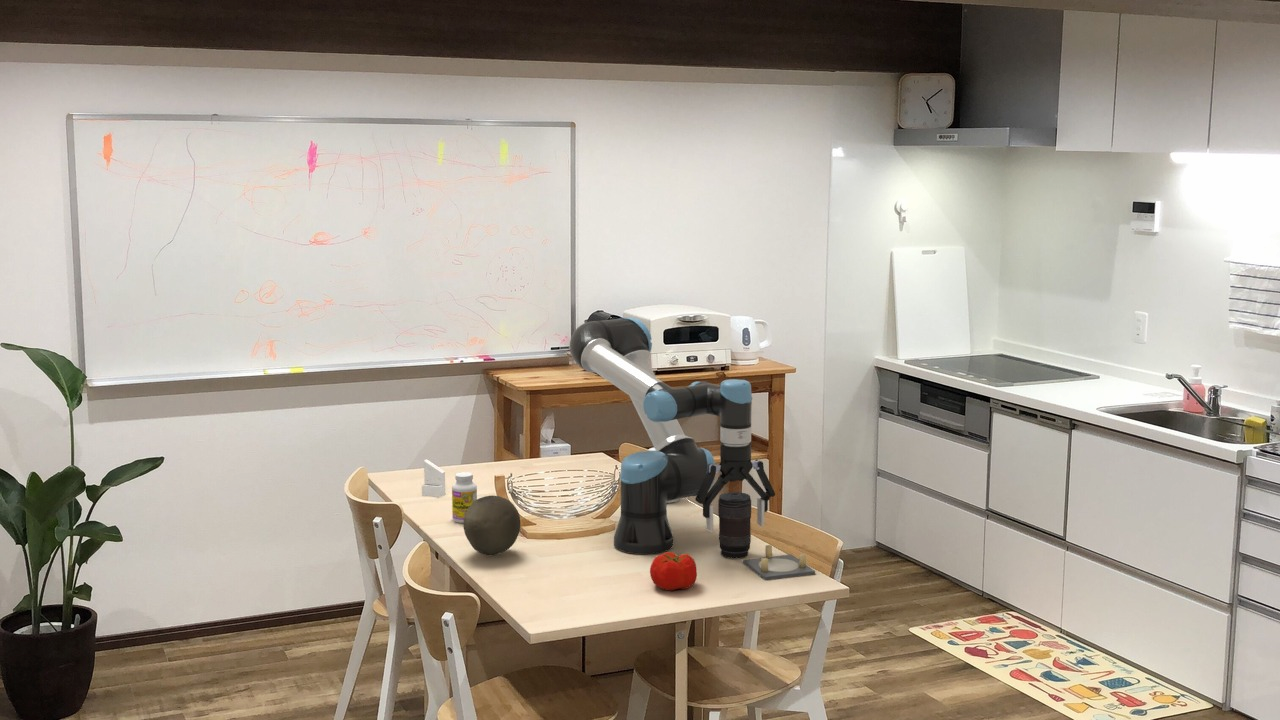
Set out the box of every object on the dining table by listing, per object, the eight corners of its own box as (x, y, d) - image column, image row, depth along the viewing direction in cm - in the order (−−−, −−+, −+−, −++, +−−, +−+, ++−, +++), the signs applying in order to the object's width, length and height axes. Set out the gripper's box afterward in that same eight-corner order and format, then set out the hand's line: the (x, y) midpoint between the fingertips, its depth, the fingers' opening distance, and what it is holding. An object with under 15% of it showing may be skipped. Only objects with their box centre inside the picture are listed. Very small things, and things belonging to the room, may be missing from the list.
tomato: (641, 588, 281) (641, 557, 280) (669, 575, 290) (669, 545, 289) (678, 598, 275) (679, 566, 274) (706, 585, 283) (707, 554, 282)
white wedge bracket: (414, 483, 362) (426, 459, 360) (441, 501, 360) (454, 478, 358) (408, 486, 359) (420, 462, 356) (435, 505, 357) (448, 481, 355)
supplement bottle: (448, 522, 331) (447, 476, 329) (458, 515, 338) (456, 470, 336) (472, 524, 330) (470, 478, 328) (481, 517, 336) (480, 471, 334)
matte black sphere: (458, 550, 308) (456, 492, 306) (513, 544, 313) (512, 487, 311) (470, 567, 295) (469, 507, 293) (527, 561, 300) (527, 501, 298)
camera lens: (715, 549, 309) (716, 491, 306) (747, 549, 309) (748, 491, 307) (720, 560, 301) (720, 500, 298) (753, 559, 301) (753, 500, 299)
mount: (764, 580, 287) (764, 564, 286) (742, 562, 299) (742, 547, 298) (815, 574, 291) (815, 558, 290) (791, 557, 303) (791, 542, 302)
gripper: (693, 450, 293) (693, 536, 296) (788, 442, 301) (788, 526, 304) (682, 444, 300) (682, 528, 303) (776, 436, 308) (775, 518, 311)
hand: (735, 527), depth 304 cm, fingers open, 13 cm apart
